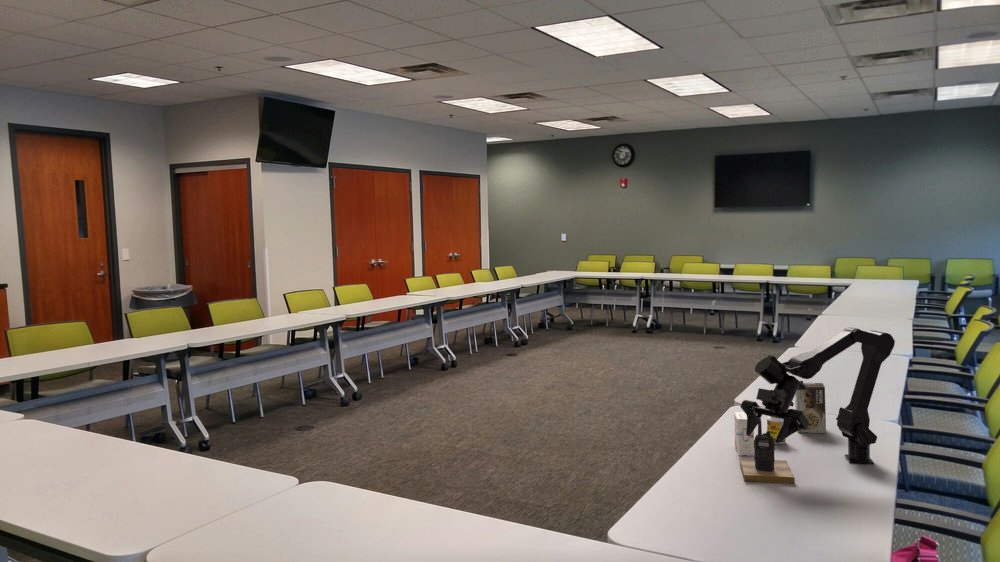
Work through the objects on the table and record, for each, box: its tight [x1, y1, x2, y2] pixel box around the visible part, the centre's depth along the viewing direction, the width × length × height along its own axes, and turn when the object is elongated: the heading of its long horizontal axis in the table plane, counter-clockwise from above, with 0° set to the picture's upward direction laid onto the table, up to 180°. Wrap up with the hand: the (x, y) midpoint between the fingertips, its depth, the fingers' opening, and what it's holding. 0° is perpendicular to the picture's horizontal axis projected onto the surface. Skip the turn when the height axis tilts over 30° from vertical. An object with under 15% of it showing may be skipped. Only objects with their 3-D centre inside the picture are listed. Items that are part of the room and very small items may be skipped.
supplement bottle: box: [766, 416, 787, 445], centre depth 220 cm, size 6×6×10 cm
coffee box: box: [794, 382, 827, 434], centre depth 231 cm, size 9×6×16 cm
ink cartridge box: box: [733, 411, 755, 457], centre depth 212 cm, size 9×5×15 cm, turn 168°
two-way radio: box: [754, 417, 776, 471], centre depth 190 cm, size 6×4×15 cm
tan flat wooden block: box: [739, 458, 796, 485], centre depth 192 cm, size 14×13×2 cm
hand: (761, 438), depth 189 cm, fingers open, 9 cm apart
